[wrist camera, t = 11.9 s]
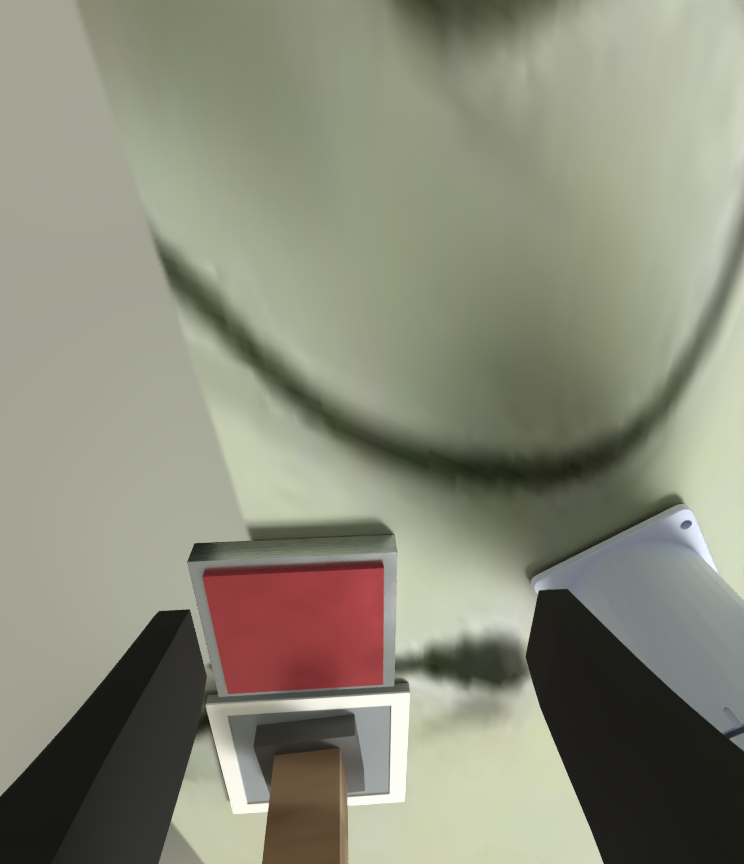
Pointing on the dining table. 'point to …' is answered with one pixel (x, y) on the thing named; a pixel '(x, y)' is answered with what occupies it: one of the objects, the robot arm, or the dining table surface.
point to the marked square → (373, 707)
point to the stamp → (309, 787)
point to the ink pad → (298, 613)
